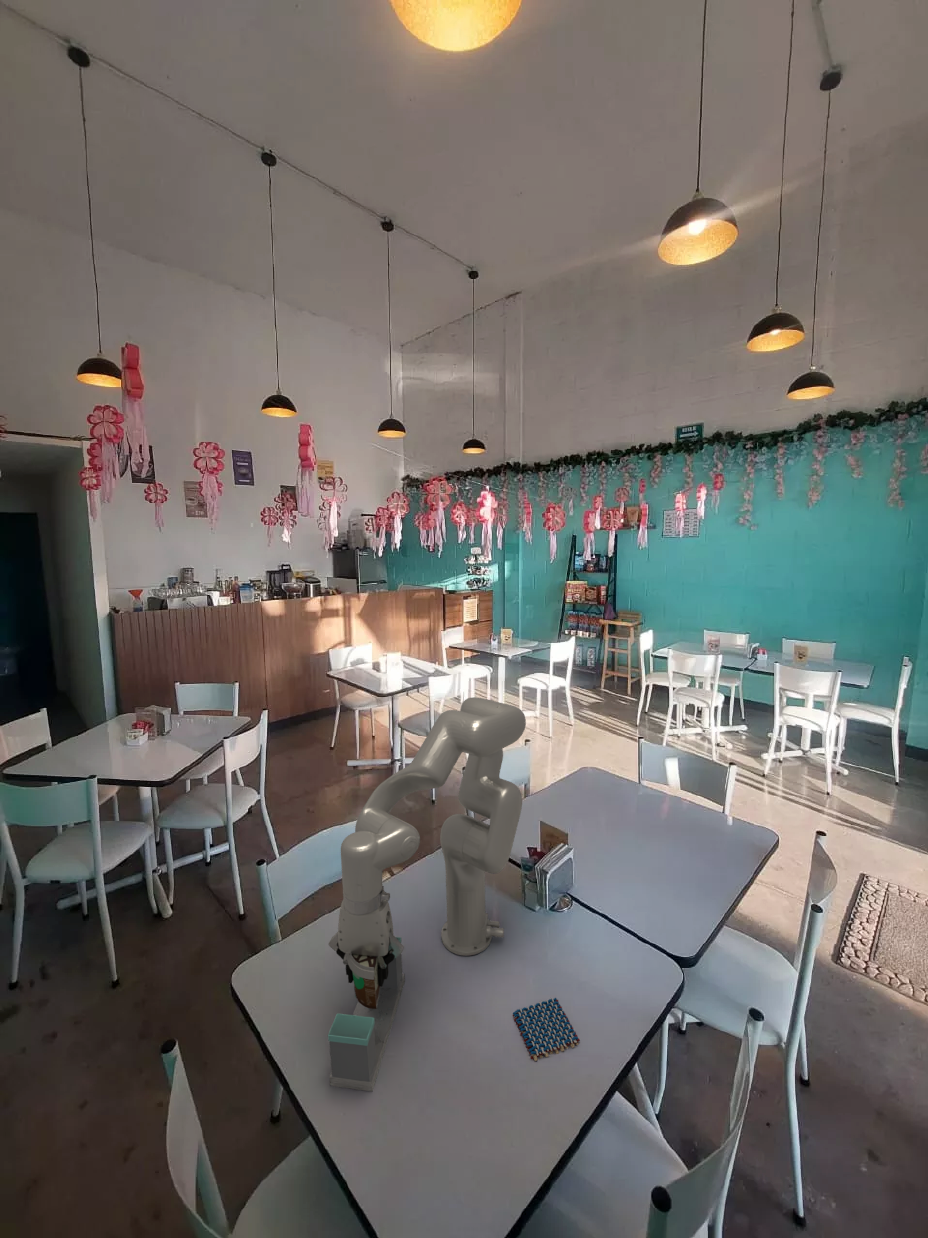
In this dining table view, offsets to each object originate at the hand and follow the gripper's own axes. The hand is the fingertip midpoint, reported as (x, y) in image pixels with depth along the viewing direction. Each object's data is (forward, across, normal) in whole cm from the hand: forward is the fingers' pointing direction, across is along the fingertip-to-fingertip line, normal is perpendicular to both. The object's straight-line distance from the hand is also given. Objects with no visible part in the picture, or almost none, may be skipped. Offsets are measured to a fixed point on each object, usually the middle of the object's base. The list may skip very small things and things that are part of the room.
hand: (367, 978), depth 101 cm
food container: (+3, +1, 0) cm, 3 cm away
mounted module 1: (+10, 0, +9) cm, 14 cm away
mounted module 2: (+10, 0, -10) cm, 14 cm away
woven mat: (+12, -35, -4) cm, 37 cm away
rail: (+12, 0, 0) cm, 12 cm away
